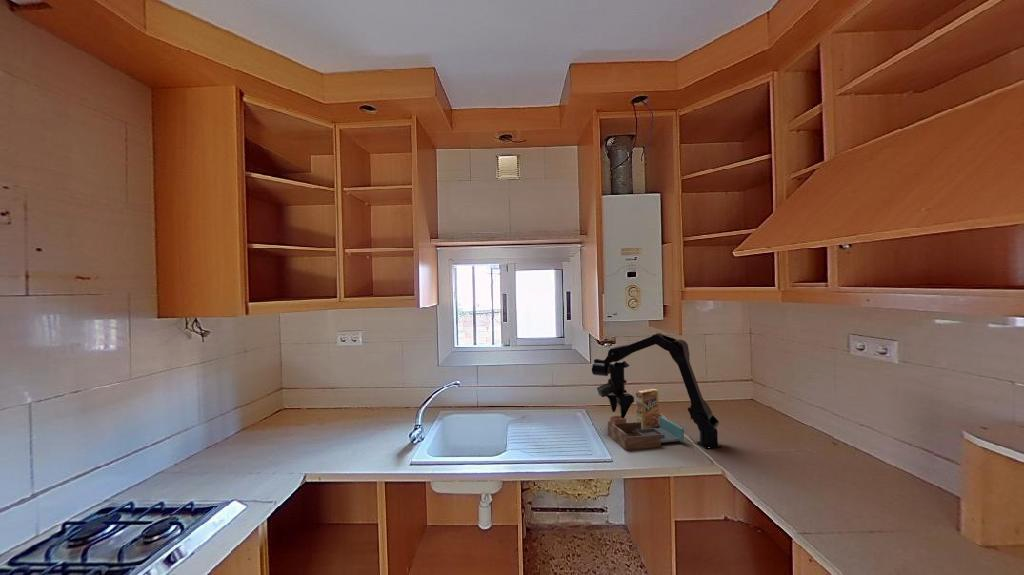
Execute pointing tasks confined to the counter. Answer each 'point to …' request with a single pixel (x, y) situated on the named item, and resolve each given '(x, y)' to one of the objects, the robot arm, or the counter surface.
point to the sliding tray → (663, 431)
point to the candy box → (647, 408)
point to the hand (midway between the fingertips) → (618, 414)
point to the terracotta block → (617, 420)
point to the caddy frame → (632, 436)
